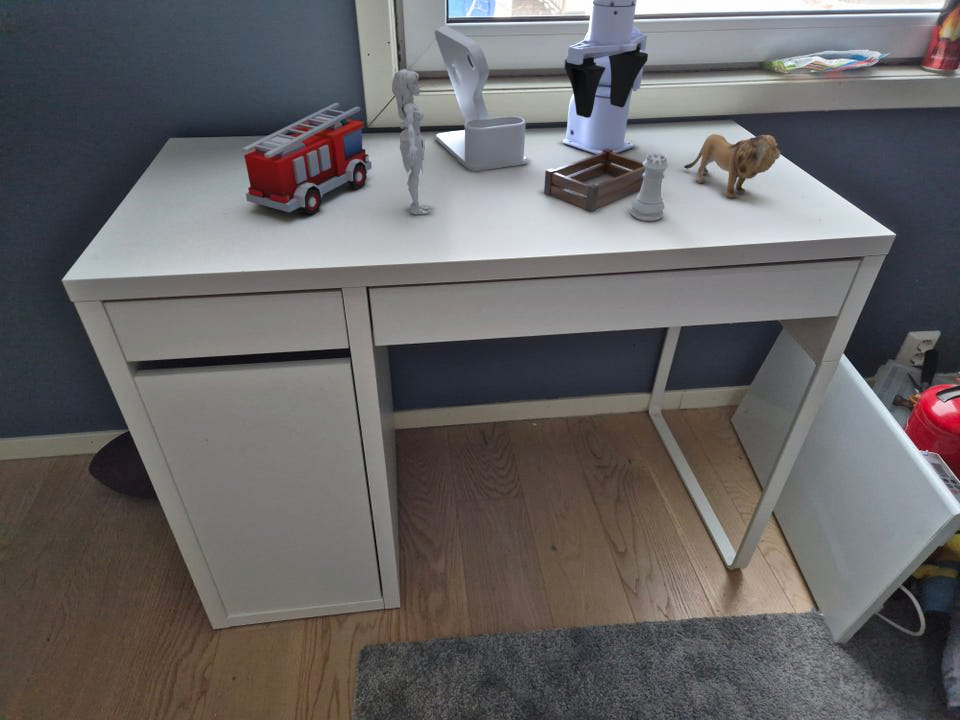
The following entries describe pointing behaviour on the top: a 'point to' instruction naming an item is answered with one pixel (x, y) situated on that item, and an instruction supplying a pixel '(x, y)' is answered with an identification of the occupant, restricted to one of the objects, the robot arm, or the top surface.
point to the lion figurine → (737, 159)
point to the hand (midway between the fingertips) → (600, 110)
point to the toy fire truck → (307, 161)
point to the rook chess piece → (650, 190)
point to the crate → (602, 192)
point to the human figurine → (410, 131)
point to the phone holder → (477, 110)
